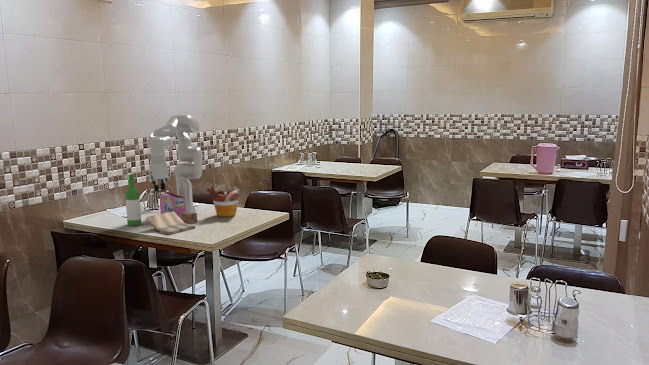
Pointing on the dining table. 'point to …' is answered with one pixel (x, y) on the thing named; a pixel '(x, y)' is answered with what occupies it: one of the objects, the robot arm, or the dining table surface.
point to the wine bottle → (133, 203)
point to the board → (177, 228)
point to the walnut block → (189, 217)
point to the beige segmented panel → (164, 220)
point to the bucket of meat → (224, 201)
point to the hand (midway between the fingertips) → (159, 190)
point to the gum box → (172, 204)
